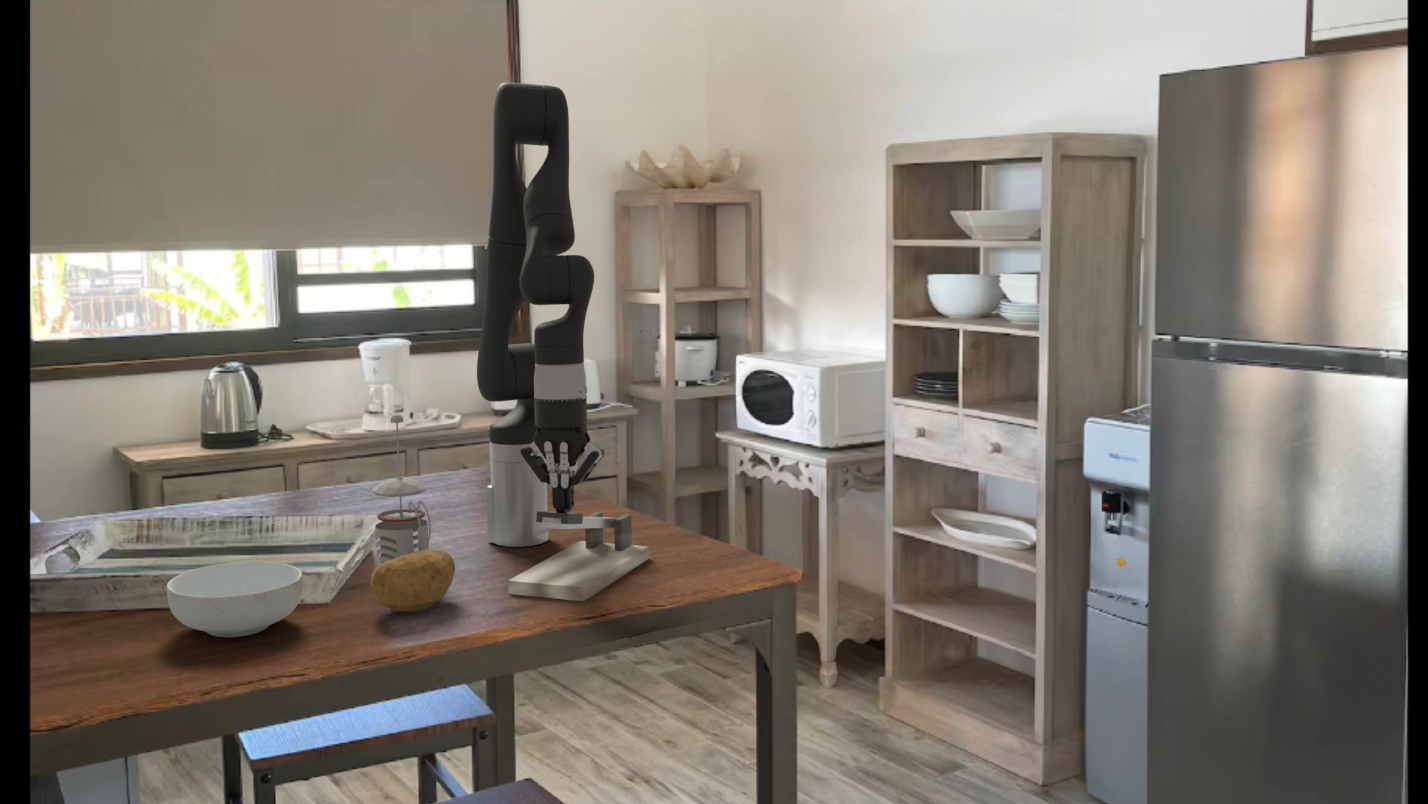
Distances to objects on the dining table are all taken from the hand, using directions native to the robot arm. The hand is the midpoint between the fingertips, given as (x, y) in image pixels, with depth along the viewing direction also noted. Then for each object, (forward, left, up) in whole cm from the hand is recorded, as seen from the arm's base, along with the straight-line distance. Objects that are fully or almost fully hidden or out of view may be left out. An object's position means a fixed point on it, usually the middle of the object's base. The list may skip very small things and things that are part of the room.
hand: (563, 511), depth 187 cm
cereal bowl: (-33, -31, -12) cm, 47 cm away
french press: (-25, -3, -12) cm, 28 cm away
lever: (0, +7, -4) cm, 8 cm away
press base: (0, +6, -11) cm, 13 cm away
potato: (-15, -16, -12) cm, 25 cm away
